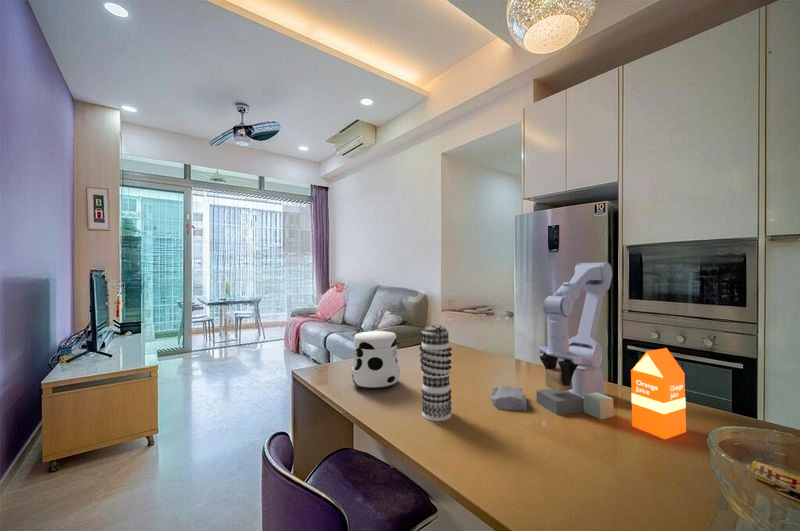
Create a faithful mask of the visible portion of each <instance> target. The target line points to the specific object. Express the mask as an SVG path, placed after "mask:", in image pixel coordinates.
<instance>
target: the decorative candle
mask: <svg viewBox="0 0 800 531" xmlns="http://www.w3.org/2000/svg"><path fill="white" fill-rule="evenodd" d="M420 332H421V336H422V338H421V339H422V341H421V345H420V346H419V348H418V350H419V351H420V354H419V357H420V359H419V361H420V364H421V366H420V369H421V375H422V388H421V394H422V395H421V399H422V400H421V402H420V403H421V411H422V413H421V415H422V417H423V418H424V419H426V420H427V421H435V422H442V421H446V420H449V419H450V418H452V401H451V399H452V395H451V394H452V390H451V383H450V376H451V374H452V373H451V369H452V365H450V364H452V360H451V359H449V358H450V357H451V356H452V355H453V353H452V352H451V351H453V350H452V349H453V348H452V347H451V346H450V342H449V337H450V336H449V334H450V331H449V330H447V328H446V326H444V325H442V324H441V325H438V324H431V325H426V326H425V327H424V328H423V330H421V331H420Z"/></svg>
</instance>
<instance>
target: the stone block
mask: <svg viewBox="0 0 800 531" xmlns="http://www.w3.org/2000/svg"><path fill="white" fill-rule="evenodd" d="M490 395H491V397H490V399H491V401H492V404H493V406H494V407H495V408H497V409H498V410H505V411H527V409H528V408H527V403H528V402H527V397H526V394H525V393H524V392H523V389H522V387H515V386H510V385H509V386H508V385H507V386H506V385H502V386H497V387H494V388H492V389H491V394H490Z"/></svg>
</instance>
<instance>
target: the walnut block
mask: <svg viewBox="0 0 800 531" xmlns="http://www.w3.org/2000/svg"><path fill="white" fill-rule="evenodd" d="M545 386H546V387H547V388H548V389H554V390H556V391H559V392H560V391H566V390H571V389H572V380H571V384H570V385H569V386H564V385H563V382H562V373H561V368H560V367H556V368H552V369H545Z"/></svg>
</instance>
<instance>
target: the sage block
mask: <svg viewBox="0 0 800 531" xmlns="http://www.w3.org/2000/svg"><path fill="white" fill-rule="evenodd" d="M605 395H606V394H605ZM605 395H603V394H600V393H597V392H596V393H591V394H585V395H584V411H583V412H584V413H586V414H587V415H590V416H591V417H592V416H593V417H595V418H596V419H599V420H603V419H608V418H613V417H614V398H613V397H611V396H608V395H606V396H605Z"/></svg>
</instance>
